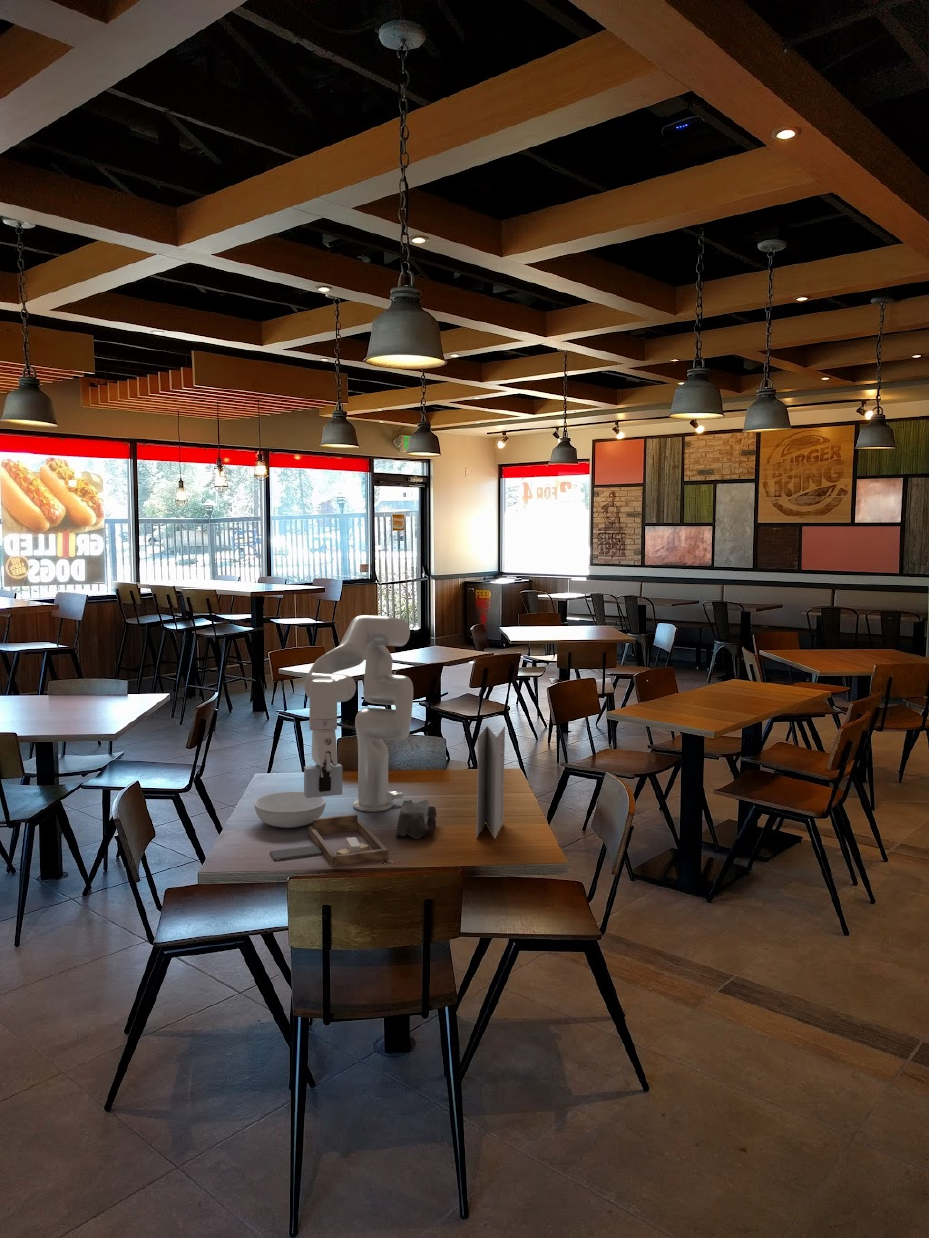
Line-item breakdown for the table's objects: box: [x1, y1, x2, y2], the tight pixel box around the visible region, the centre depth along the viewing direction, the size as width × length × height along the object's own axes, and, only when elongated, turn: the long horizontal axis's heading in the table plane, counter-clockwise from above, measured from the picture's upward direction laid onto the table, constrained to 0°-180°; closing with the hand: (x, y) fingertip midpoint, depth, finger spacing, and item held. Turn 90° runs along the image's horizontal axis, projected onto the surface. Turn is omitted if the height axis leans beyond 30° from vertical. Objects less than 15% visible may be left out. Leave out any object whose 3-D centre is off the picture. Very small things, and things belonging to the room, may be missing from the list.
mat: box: [269, 844, 323, 861], centre depth 246 cm, size 13×6×1 cm, turn 113°
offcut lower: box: [336, 842, 370, 855], centre depth 246 cm, size 9×3×2 cm, turn 137°
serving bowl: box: [253, 791, 326, 829], centre depth 271 cm, size 21×21×7 cm
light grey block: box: [303, 763, 343, 798], centre depth 250 cm, size 10×3×8 cm, turn 114°
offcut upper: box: [345, 836, 361, 853], centre depth 246 cm, size 7×3×2 cm, turn 18°
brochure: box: [475, 725, 506, 839], centre depth 265 cm, size 14×6×30 cm, turn 168°
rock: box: [395, 799, 437, 840], centre depth 265 cm, size 18×11×8 cm, turn 179°
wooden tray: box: [308, 813, 389, 867], centre depth 253 cm, size 15×26×4 cm, turn 23°
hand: (323, 788), depth 250 cm, fingers closed on light grey block, 3 cm apart
